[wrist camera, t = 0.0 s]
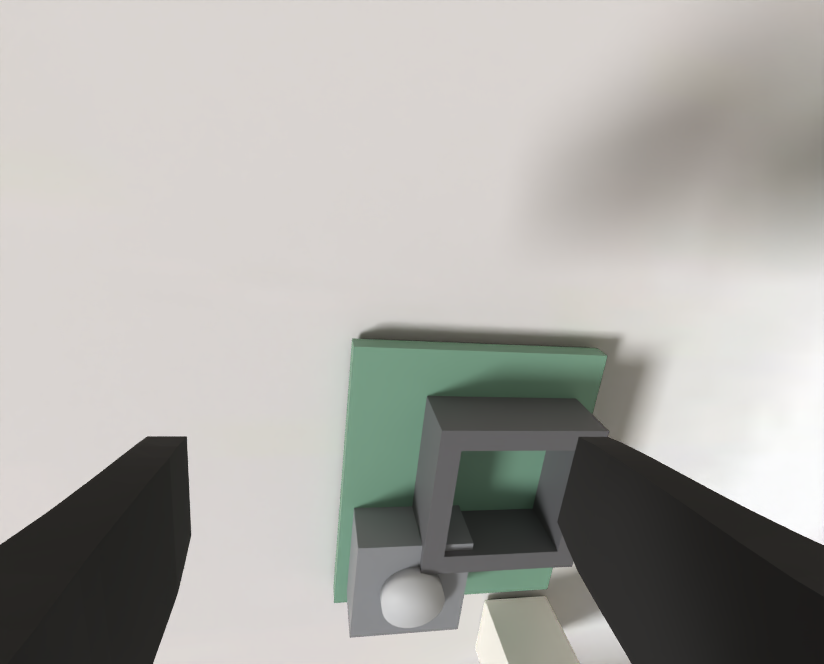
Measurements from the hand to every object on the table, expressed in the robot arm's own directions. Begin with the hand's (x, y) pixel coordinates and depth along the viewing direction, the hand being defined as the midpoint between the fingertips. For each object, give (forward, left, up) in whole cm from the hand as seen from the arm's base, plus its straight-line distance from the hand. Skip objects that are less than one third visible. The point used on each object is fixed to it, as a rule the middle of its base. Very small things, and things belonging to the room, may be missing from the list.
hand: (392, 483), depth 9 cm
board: (-7, -5, -10) cm, 13 cm away
